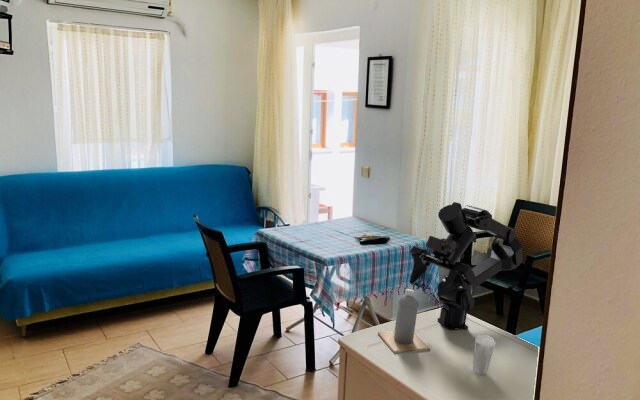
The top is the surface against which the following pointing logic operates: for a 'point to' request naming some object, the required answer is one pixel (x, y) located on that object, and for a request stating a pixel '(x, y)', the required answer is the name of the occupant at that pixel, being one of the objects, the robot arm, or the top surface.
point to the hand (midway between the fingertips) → (423, 289)
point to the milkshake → (483, 353)
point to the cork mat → (399, 348)
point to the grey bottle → (406, 318)
